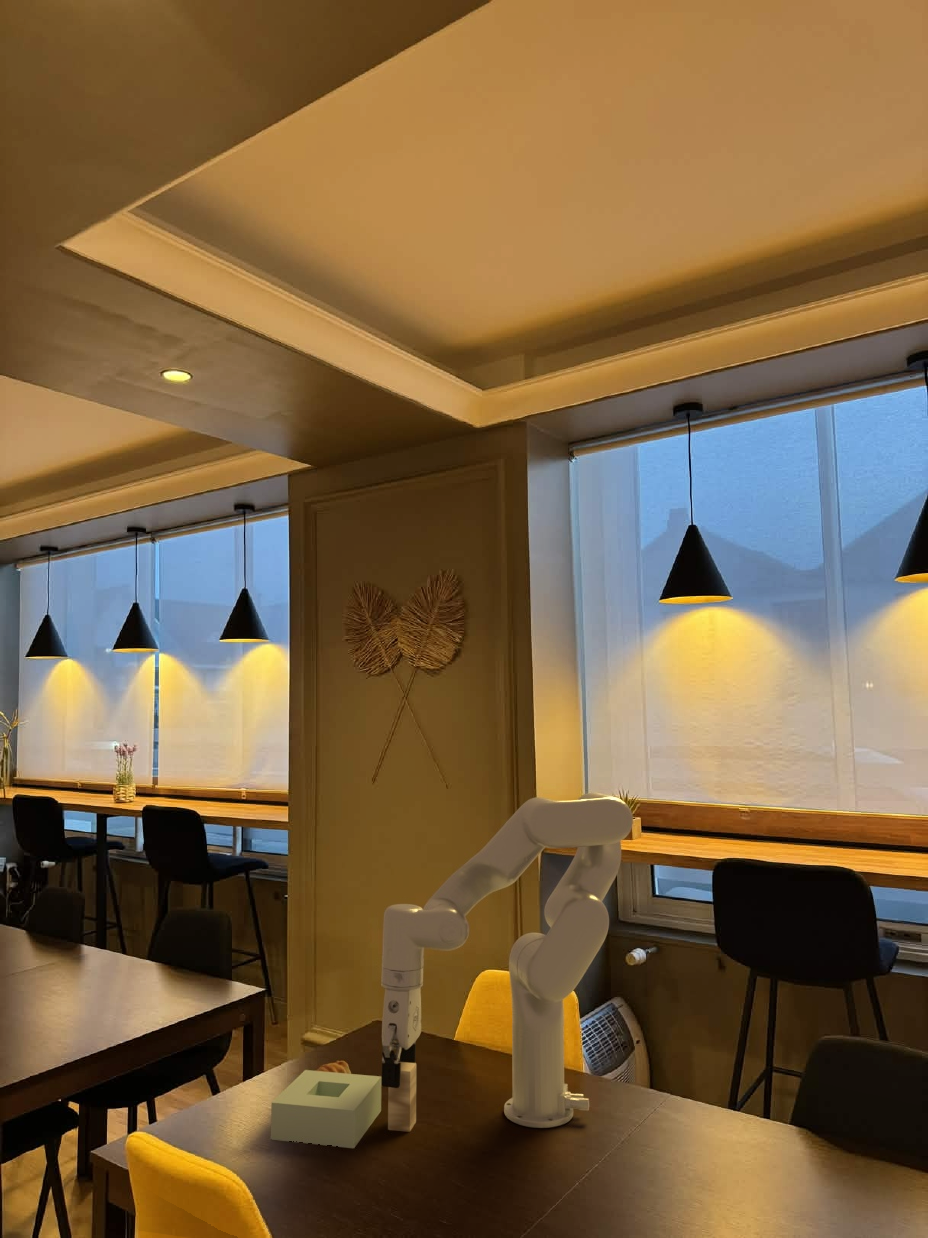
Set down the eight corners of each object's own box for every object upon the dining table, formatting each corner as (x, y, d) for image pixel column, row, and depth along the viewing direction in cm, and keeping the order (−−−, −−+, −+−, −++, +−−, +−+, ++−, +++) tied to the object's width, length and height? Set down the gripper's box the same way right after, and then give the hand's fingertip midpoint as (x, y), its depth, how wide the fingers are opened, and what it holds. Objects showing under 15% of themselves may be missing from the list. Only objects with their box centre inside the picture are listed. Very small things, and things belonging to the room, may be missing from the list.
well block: (381, 1111, 165) (381, 1076, 165) (353, 1148, 150) (354, 1110, 151) (304, 1103, 168) (305, 1070, 168) (270, 1139, 153) (271, 1102, 154)
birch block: (416, 1122, 160) (416, 1063, 161) (409, 1132, 156) (410, 1071, 157) (394, 1120, 161) (395, 1061, 162) (387, 1129, 157) (388, 1069, 158)
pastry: (314, 1097, 171) (314, 1076, 172) (296, 1087, 176) (296, 1066, 177) (355, 1084, 177) (355, 1064, 178) (336, 1075, 182) (336, 1055, 183)
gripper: (409, 991, 152) (405, 1098, 150) (434, 966, 169) (431, 1061, 167) (367, 987, 154) (362, 1093, 152) (396, 963, 171) (392, 1057, 169)
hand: (398, 1076), depth 159 cm, fingers open, 9 cm apart
